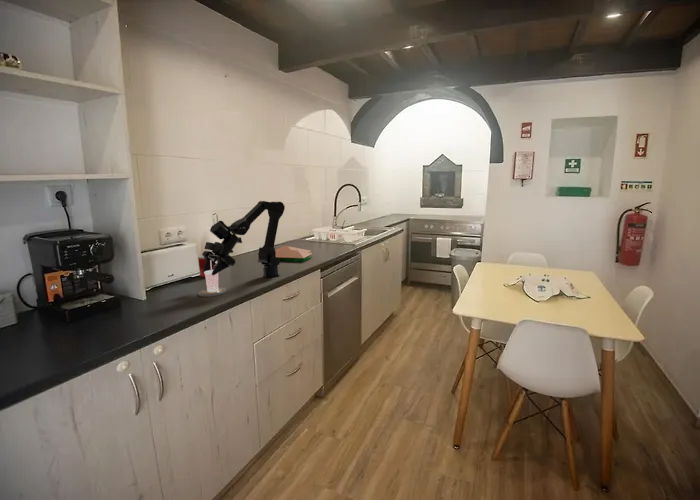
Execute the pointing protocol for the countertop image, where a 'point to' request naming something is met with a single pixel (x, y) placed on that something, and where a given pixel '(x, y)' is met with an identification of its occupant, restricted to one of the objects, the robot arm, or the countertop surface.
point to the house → (292, 253)
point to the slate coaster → (210, 294)
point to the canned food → (202, 265)
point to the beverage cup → (211, 280)
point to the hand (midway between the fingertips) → (207, 273)
